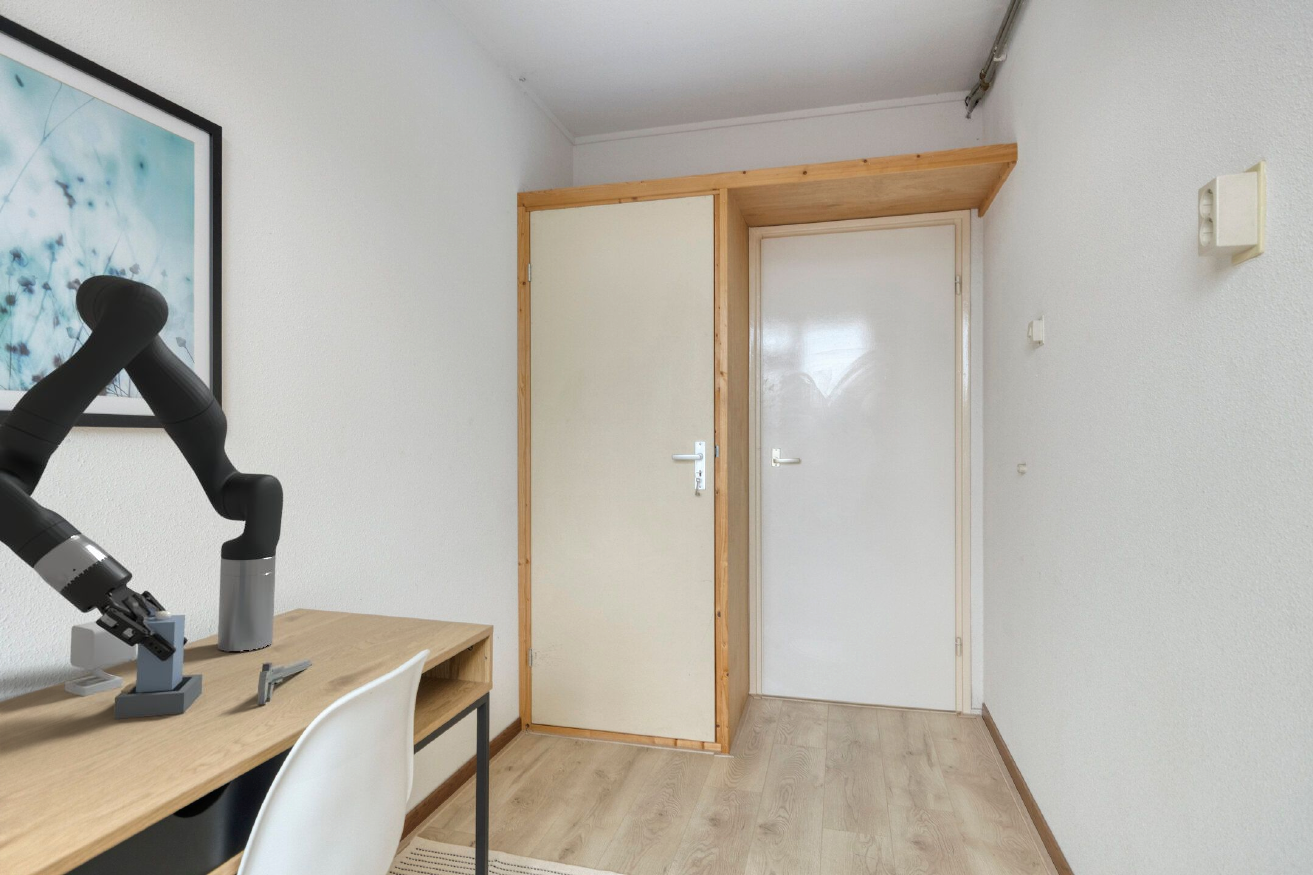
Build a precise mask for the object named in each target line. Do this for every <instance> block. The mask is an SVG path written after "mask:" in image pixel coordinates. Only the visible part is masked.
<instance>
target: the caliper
mask: <svg viewBox="0 0 1313 875" xmlns="http://www.w3.org/2000/svg"><path fill="white" fill-rule="evenodd" d="M273 665H274V663H273V662H265V663H262V667H261V671H260V672H259V678H258V685H257V705H258V706H265V705H266V703H270V702H271V701H272V697H273V691H274V687H275V685H280V684H282V683H283V682H284V678H286V677H288V676H291V675H293V674H296V673H299V672H302V671H304V670H307V669H308V668H310V667H311V666H310V665H313V661H311V659H302V660H299V661H296V662H293V663H290V664H287V665H277V666H273Z"/></svg>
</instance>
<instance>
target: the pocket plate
mask: <svg viewBox="0 0 1313 875" xmlns="http://www.w3.org/2000/svg"><path fill="white" fill-rule="evenodd" d="M200 694H201V695H202V694H203V673H200V674H185V675H184V674H182V681H181V682H180V683H179V684H178V685H177V686H176V687H175V688H174V689H173V690H166V691H150V692H136V680H134V681H133V680H132V681H131V682H130V683H129V684H128V685H126V686H125V687H124V688H122V689H121V691H120V693H119V694H117V695H116V696H115V697H114V713H113V714H114V717H113V719H116V720H117V719H128V718H141V717H154V716H165V715H166V716H167V715H180V714H181V715H182V714H184V713H186V711H187V710H188V709H189V708H190V707H191V705H193V703H194V702H195V701H196V700H197V699H198V698H199V697H200V696H201V695H200ZM199 695H200V696H199Z"/></svg>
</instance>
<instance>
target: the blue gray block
mask: <svg viewBox="0 0 1313 875" xmlns="http://www.w3.org/2000/svg"><path fill="white" fill-rule="evenodd" d="M185 620H186V614H174V615H172V611H171V610H166V611H159V612H155V617H149V621H148V624H149V625H150V626H151V627H152V628H153V629H154V630H155V631H156V634H157V633H158V634H159V635H161V636H162V637H163V638H164V639H165V640H166V641H168V642H169V643H170V644H171V645H172V646H174V647H175V648H176V652H175V653H174V654H173V655H172V656H170V657H169V658H168V659H167V660H166V661H161V660H160V659H159V658H157V657H156V656H155V655H154V654H153V653H152V652H150V651H149V650H148V649H147V648H146V647H144V646H143V645H142V646H139V645H137V657H136V658H137V663H136V664H137V665H136V680H135V681H136V692H150V691H166V690H173V689H174V688H175V687H176V686H177V685H178V684H179V683H180V682H181V681H182V675H183V673H184V672H183V668H184V649H185V647H184V646H185V645H184V637H185V628H186V624H185V623H186V622H185ZM141 627H142V626H141ZM156 634H155V635H156Z"/></svg>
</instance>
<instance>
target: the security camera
mask: <svg viewBox="0 0 1313 875" xmlns="http://www.w3.org/2000/svg"><path fill="white" fill-rule="evenodd" d="M96 621H97V620H96ZM96 621H92V622H91V621H90V622H86V623H80V624H75V625H73V626H72V627H71V633H70V634H71V636H70V637H71V638H70V659H69V660H70V665H71V666H72V667H77V668H80V669H83V670H85V671H86V672H88V673H90V674H91V675H90V676H89V675H88V676H85V677H81V678H77V679H73V680H69V681H65V682H64V691H65V692H68V693H71V694H75V695H78V696H81V697H87V696H91V695H94V694H97V693H98V694H99V693H103V692H105V691H110V690H114V689H116V688H121V687H123V685H124V684H123V682H124V677H121V676H117V675H114V674H110V673H107V672H105V670H103V669H101V668H102V667H106V666H110V665H115V664H119V663H124V662H127V661H131V662H133V661H135V659H136V658H137V657H136V656H137V644H135V645H134V646H130V645H128V644H126V643H125V642H123V641H122V640H120V639H119V638H117V637H115V636H114V635H112V634H111V633H109V632H108V631H106V630H104V629H103V628H101V627H100V626H98V625H97V624H96ZM128 636H129V635H128ZM129 637H130V636H129Z"/></svg>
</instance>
